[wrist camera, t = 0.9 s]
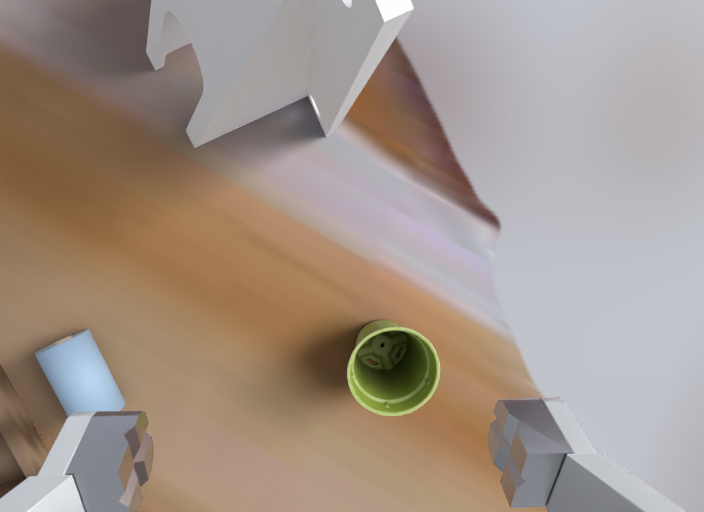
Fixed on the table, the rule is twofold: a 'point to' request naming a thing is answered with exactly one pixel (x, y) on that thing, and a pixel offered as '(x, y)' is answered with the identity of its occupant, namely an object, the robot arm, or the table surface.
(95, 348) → the blue roll
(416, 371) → the plant pot
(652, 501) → the robot arm
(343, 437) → the table surface
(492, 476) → the table surface
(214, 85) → the white bracket plate
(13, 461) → the open wooden box
